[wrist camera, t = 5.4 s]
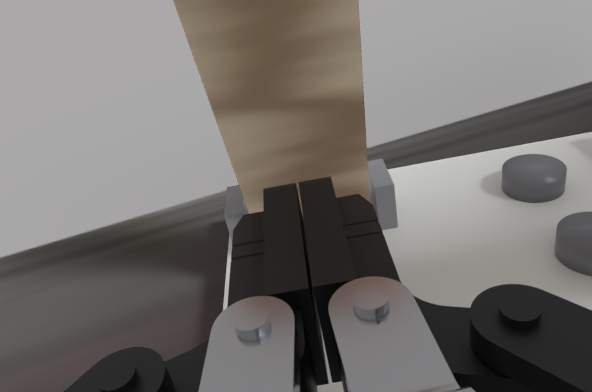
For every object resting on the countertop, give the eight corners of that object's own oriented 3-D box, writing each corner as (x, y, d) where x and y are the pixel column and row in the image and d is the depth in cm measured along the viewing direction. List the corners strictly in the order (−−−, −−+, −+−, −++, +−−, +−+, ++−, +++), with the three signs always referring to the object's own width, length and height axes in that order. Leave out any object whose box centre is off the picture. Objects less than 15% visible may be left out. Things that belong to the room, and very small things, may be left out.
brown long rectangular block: (366, 185, 25) (338, -286, 12) (379, 232, 23) (362, -261, 10) (251, 206, 25) (98, -234, 12) (255, 255, 23) (81, -200, 10)
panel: (685, 147, 28) (702, 71, 26) (1108, 404, 14) (1223, 285, 12) (241, 228, 29) (222, 161, 26) (224, 546, 15) (182, 458, 13)
